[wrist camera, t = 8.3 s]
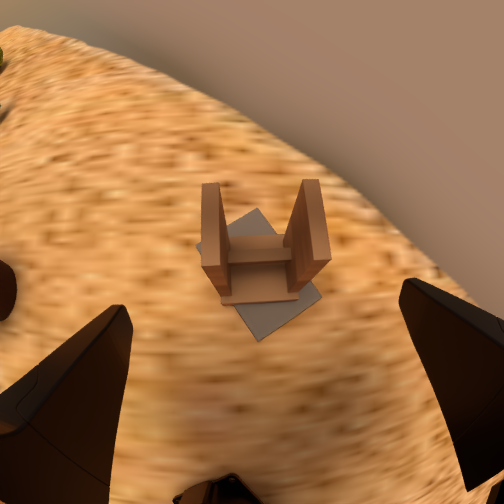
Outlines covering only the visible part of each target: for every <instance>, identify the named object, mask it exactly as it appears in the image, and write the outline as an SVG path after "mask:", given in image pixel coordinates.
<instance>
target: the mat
mask: <svg viewBox="0 0 504 504" xmlns="http://www.w3.org/2000/svg"><path fill="white" fill-rule="evenodd" d="M227 231H228V236H229V237H236V236H256V235H277V233H276V232H275V231H274V229H273V228H272V226H271V225H270V224H269V222H268V221H267V220H266V218H265V217H264V216H263V214H262V213H261V212H260V210H259V209H258V208H256V209H254V210H253V211H251V212H249V213H248V214H246V215H244V216H243V217H241V218H239V219H238V220H236V221H234V222H233V223H231V224H229V225H228V226H227ZM195 246H196V247H197V249H198V251H199V252H200V254H201V242H200V243H198V244H197V245H195ZM298 294H299V299H298V300H297V301H290V302H275V303H259V304H241V305H234V307H235V308H236V310H237V311H238V313H239V314H240V316H241V317H242V319H243V320H244V322H245V323H246V325H247V326H248V328H249V329H250V331H251V332H252V334H253V335H254V336H255V338H256V339H257V341H260V340H261V339H263V338H264V337H266V336H267V335H269V334H270V333H272V332H273V331H275V330H276V329H278V328H279V327H281V326H282V325H284V324H285V323H286V322H288V321H289V320H291V319H292V318H294V317H295V316H296V315H298V314H299V313H301V312H302V311H304V310H305V309H306V308H308V307H309V306H311V305H312V304H313V303H315V302H316V301H317V300H319V299H320V298H322V296H321V294H320V293H319V292H318V290H317V289H316V287H315V286H314V284H313V283H312V282H311V280H310V281H309V282H308V283H307V284H306V285H305V286H304V287H303V288H302V289H301V290H300V291H299V292H298Z"/></svg>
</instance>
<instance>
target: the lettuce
mask: <svg viewBox="0 0 504 504" xmlns="http://www.w3.org/2000/svg"><path fill="white" fill-rule="evenodd" d="M2 62H3V51H2V49H1V48H0V66H1V64H2Z"/></svg>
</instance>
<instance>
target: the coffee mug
mask: <svg viewBox="0 0 504 504" xmlns="http://www.w3.org/2000/svg"><path fill="white" fill-rule="evenodd" d="M16 293H17V284H16V278H15V274H14V272H13V270H12V268H11V267H10V266H9V265H7V264H6V263H4V262H3V261H1V260H0V321H2V320H4V319H6V318H7V317H8V316H9V315H10V313H11V311H12V309H13V307H14V304H15V300H16Z"/></svg>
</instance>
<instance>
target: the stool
mask: <svg viewBox="0 0 504 504" xmlns="http://www.w3.org/2000/svg"><path fill="white" fill-rule="evenodd" d="M331 259H332V258H331V251H330V244H329V237H328V230H327V224H326V218H325V212H324V206H323V200H322V194H321V189H320V183H319V179H303V180H302V183H301V187H300V190H299V193H298V196H297V199H296V202H295V205H294V208H293V211H292V214H291V217H290V220H289V223H288V226H287V230H286V233H285V234H277V235H256V236H236V237H229V236H228V231H227V225H226V220H225V215H224V209H223V204H222V198H221V193H220V187H219V183H205V184H202V201H201V266H202V268H203V270H204V271H205V273H206V274H207V276H208V277H209V279H210V281H211V282H212V284H213V285H214V287H215V288H216V290H217V291H218V293H219V294H220V296H221V304H222V305H241V304H259V303H275V302H290V301H297V300H298V299H299V294H298V292H299V291H300V290H301V289H302V288H303V287H304V286H305V285H306V284H307V283H308V282H309V281H310V280H311V279H312V278H313V277H314V276H315V275H316V274H317V273H318V272H319V271H320V270H321V269H322V268H323V267H324V266H325V265H326V264H327V263H328V262H329V261H330V260H331Z"/></svg>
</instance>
